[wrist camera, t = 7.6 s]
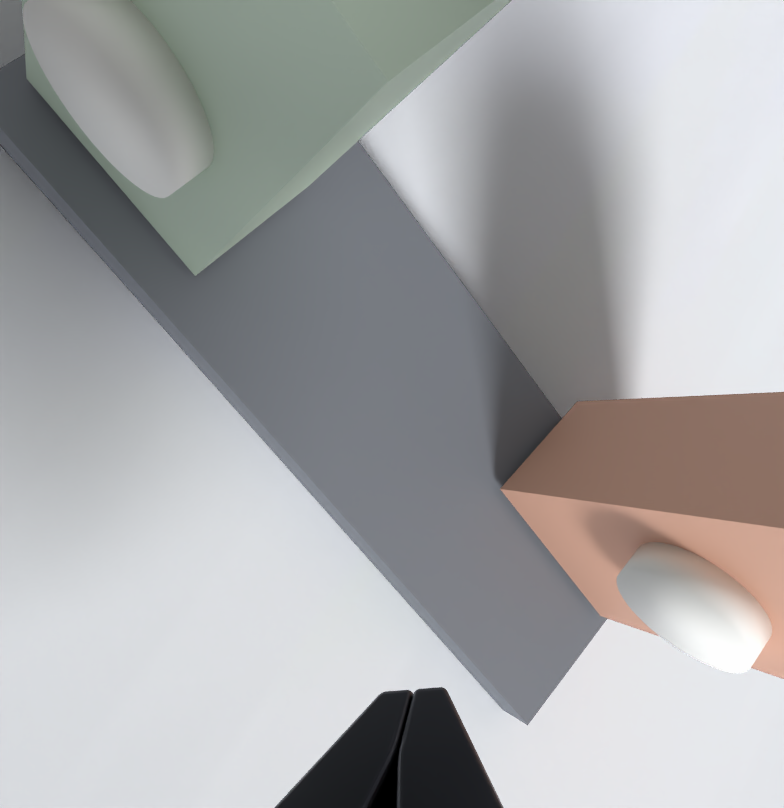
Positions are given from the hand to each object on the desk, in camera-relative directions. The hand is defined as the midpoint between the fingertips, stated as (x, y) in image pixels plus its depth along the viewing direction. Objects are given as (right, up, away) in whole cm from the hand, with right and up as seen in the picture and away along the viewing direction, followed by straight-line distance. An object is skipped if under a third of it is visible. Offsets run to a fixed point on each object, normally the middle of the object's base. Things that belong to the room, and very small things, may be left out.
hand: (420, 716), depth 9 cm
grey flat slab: (-1, +5, +10) cm, 11 cm away
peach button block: (+5, +1, +11) cm, 12 cm away
